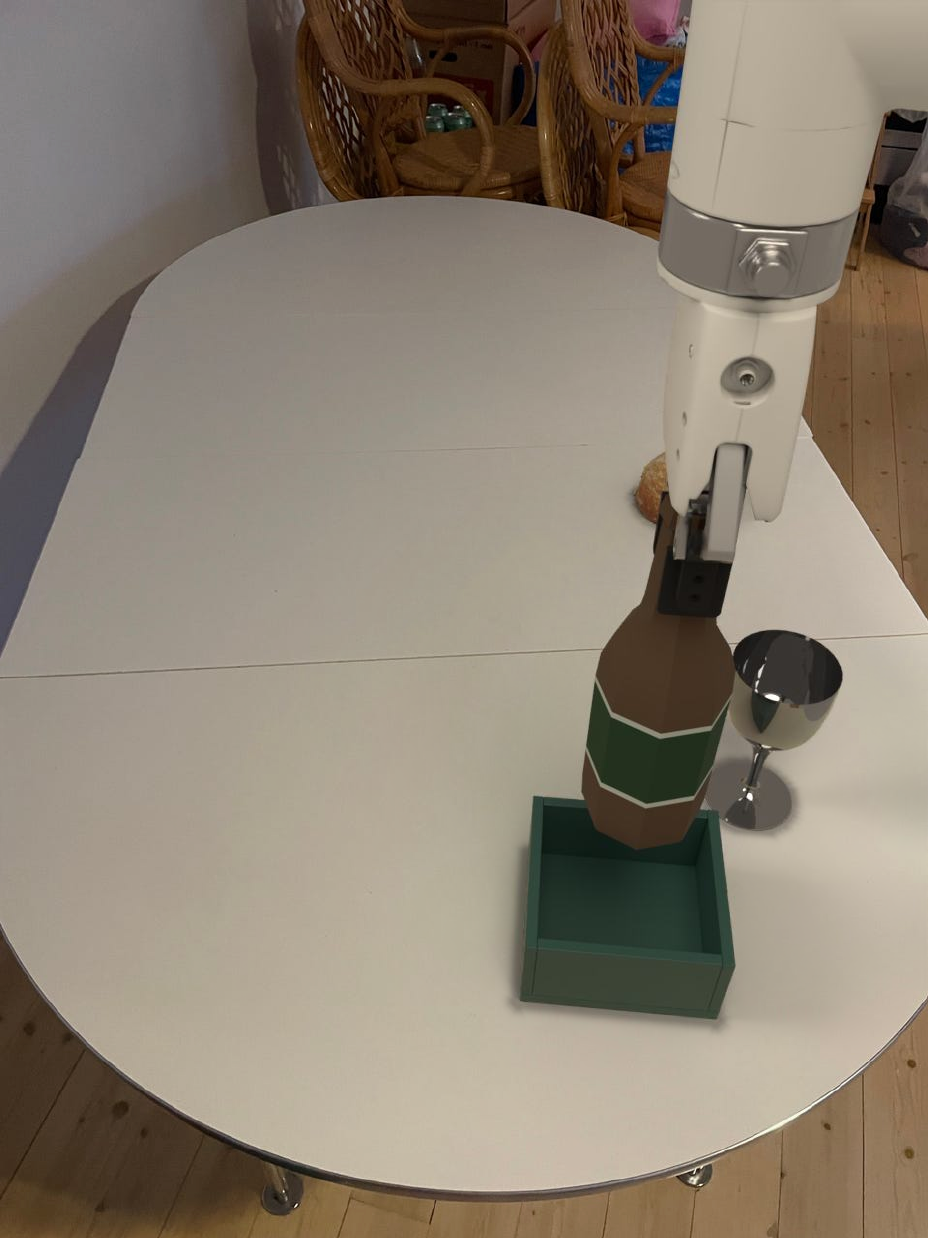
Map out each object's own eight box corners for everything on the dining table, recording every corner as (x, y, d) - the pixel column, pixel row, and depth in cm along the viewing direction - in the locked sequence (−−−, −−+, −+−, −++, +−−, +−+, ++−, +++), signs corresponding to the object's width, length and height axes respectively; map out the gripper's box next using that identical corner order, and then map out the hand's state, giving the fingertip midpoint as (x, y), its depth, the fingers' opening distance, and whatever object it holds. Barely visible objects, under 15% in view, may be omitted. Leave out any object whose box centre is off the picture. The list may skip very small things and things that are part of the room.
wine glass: (718, 840, 83) (755, 710, 73) (686, 764, 89) (717, 634, 79) (812, 828, 84) (862, 698, 74) (775, 753, 90) (816, 624, 80)
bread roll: (644, 502, 124) (622, 448, 119) (730, 476, 120) (711, 420, 115) (647, 554, 116) (624, 498, 112) (739, 528, 113) (718, 469, 108)
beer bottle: (701, 767, 69) (777, 462, 53) (700, 863, 64) (785, 554, 48) (584, 750, 70) (625, 446, 54) (573, 844, 65) (615, 534, 49)
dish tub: (702, 866, 81) (718, 810, 76) (716, 1019, 72) (735, 966, 67) (528, 851, 82) (533, 795, 77) (519, 1001, 73) (524, 947, 68)
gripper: (890, 338, 36) (777, 704, 48) (814, 172, 48) (740, 496, 61) (671, 326, 37) (615, 692, 49) (652, 165, 49) (610, 488, 61)
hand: (685, 580), depth 55 cm, fingers closed on beer bottle, 3 cm apart
